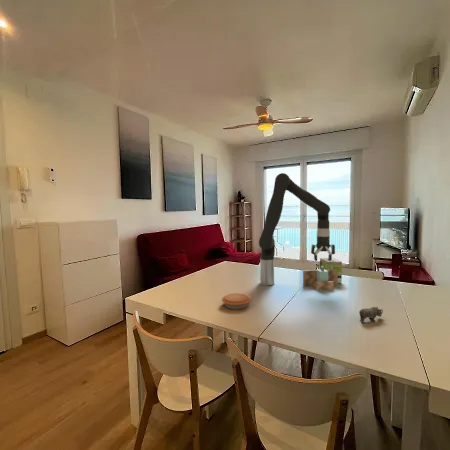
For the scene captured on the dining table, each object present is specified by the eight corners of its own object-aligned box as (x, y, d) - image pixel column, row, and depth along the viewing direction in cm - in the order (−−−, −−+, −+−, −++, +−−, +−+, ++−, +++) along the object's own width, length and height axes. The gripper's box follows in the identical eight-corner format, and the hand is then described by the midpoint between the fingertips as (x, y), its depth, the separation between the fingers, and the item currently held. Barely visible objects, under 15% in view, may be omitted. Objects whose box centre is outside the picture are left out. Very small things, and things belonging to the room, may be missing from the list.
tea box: (342, 283, 170) (342, 261, 169) (327, 283, 170) (327, 261, 169) (333, 277, 185) (333, 257, 184) (319, 277, 185) (319, 257, 184)
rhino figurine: (387, 319, 114) (387, 306, 114) (363, 324, 110) (364, 311, 109) (379, 316, 118) (379, 303, 117) (356, 320, 113) (356, 307, 113)
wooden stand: (307, 290, 157) (307, 274, 157) (303, 285, 167) (303, 270, 167) (343, 289, 156) (343, 273, 156) (336, 284, 167) (336, 269, 166)
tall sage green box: (320, 284, 159) (320, 267, 158) (316, 281, 165) (316, 265, 164) (328, 284, 158) (328, 267, 158) (324, 281, 165) (324, 265, 164)
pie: (230, 313, 125) (230, 303, 125) (217, 303, 139) (216, 294, 138) (256, 307, 132) (256, 298, 132) (241, 298, 146) (241, 290, 145)
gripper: (313, 236, 156) (313, 262, 157) (337, 236, 155) (336, 261, 156) (310, 234, 163) (309, 259, 164) (332, 234, 163) (331, 259, 164)
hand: (322, 260), depth 160 cm, fingers open, 8 cm apart
